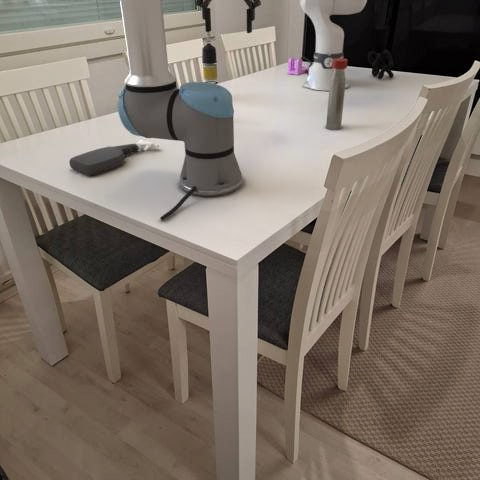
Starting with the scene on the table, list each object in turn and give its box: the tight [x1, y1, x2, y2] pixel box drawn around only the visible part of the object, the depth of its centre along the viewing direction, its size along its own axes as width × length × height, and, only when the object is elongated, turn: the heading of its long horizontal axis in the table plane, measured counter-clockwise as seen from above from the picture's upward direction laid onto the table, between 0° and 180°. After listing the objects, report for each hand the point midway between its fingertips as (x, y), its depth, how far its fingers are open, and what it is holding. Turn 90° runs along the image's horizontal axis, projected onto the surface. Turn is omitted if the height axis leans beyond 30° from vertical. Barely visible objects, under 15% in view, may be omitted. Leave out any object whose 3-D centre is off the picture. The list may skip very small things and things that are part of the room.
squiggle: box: [367, 49, 394, 80], centre depth 203 cm, size 11×10×15 cm
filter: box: [201, 31, 219, 85], centre depth 171 cm, size 6×6×30 cm
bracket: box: [287, 57, 309, 76], centre depth 217 cm, size 13×6×7 cm, turn 143°
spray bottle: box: [68, 139, 160, 177], centre depth 124 cm, size 3×11×24 cm
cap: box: [332, 57, 348, 70], centre depth 135 cm, size 4×4×2 cm
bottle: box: [325, 69, 347, 131], centre depth 140 cm, size 5×5×20 cm
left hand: (228, 32), depth 139 cm, fingers open, 13 cm apart
